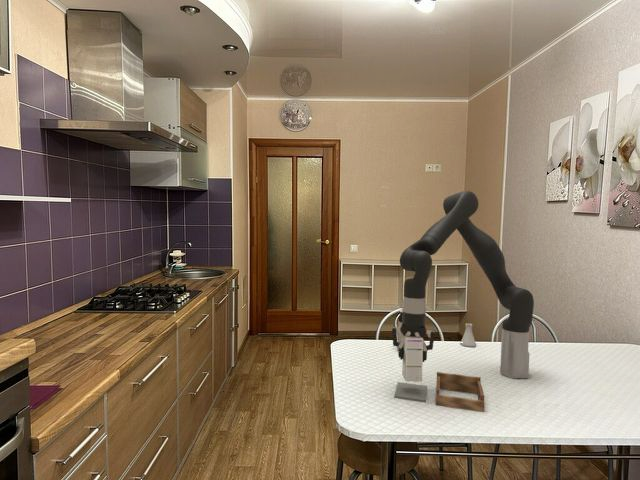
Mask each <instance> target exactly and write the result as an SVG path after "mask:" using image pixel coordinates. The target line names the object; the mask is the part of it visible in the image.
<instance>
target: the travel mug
mask: <svg viewBox="0 0 640 480" xmlns="http://www.w3.org/2000/svg"><path fill="white" fill-rule="evenodd" d="M397 323H398V324H397V325H398V326H397V328H401V326H402V308H400V309H399V316H398V320H397ZM402 338H403V334H402V333H401V331H399V333H398V334H397V342H399V343H400V342H401V340H402ZM396 347H397V346H396ZM396 349H397V351H399V348H398V347H397V348H396Z"/></svg>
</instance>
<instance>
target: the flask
mask: <svg viewBox="0 0 640 480" xmlns="http://www.w3.org/2000/svg"><path fill="white" fill-rule="evenodd" d="M461 342H463V343H461ZM459 344H460V345H461V346H462V347H467V348H476V347H477V343H476V340H475V337H474V333H473V324H472V323H467V322H466V323H465V330H464V334H463V336H462V339H461V340H460V342H459Z"/></svg>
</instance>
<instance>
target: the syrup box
mask: <svg viewBox="0 0 640 480" xmlns="http://www.w3.org/2000/svg"><path fill="white" fill-rule="evenodd" d="M403 337H404V336H403ZM423 339H424V338H419V337H415V336H409V337H405V344H404V345H403V359H402V364H401V365H402V371H401V373H402V377H403V379H404V381H405V382H412V383H413V382H418V383H420V382H421V383H422V382H423V366H424V365H423V363H424V362H423Z"/></svg>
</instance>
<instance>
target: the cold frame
mask: <svg viewBox="0 0 640 480" xmlns="http://www.w3.org/2000/svg"><path fill="white" fill-rule="evenodd" d="M435 389H436V391H435V393H436V394H435V406H440V407H441V406H442V407H448V408H453V409H454V408H456V409H462V410H468V411H475V412H483V413H484V412H485V393H484V389H483V386H482V378H481V377H480V376H473V375H466V374H465V375H464V374H458V373H457V374H456V373H448V372H441V371H436V387H435ZM441 390H444V391H449V392H450V391H451V392H457V393H467V394H473V395H476V396H477V399H473V398H467V397H460V396H459V397H458V396H452V395H445V394H440V393H441V392H440V391H441Z"/></svg>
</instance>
